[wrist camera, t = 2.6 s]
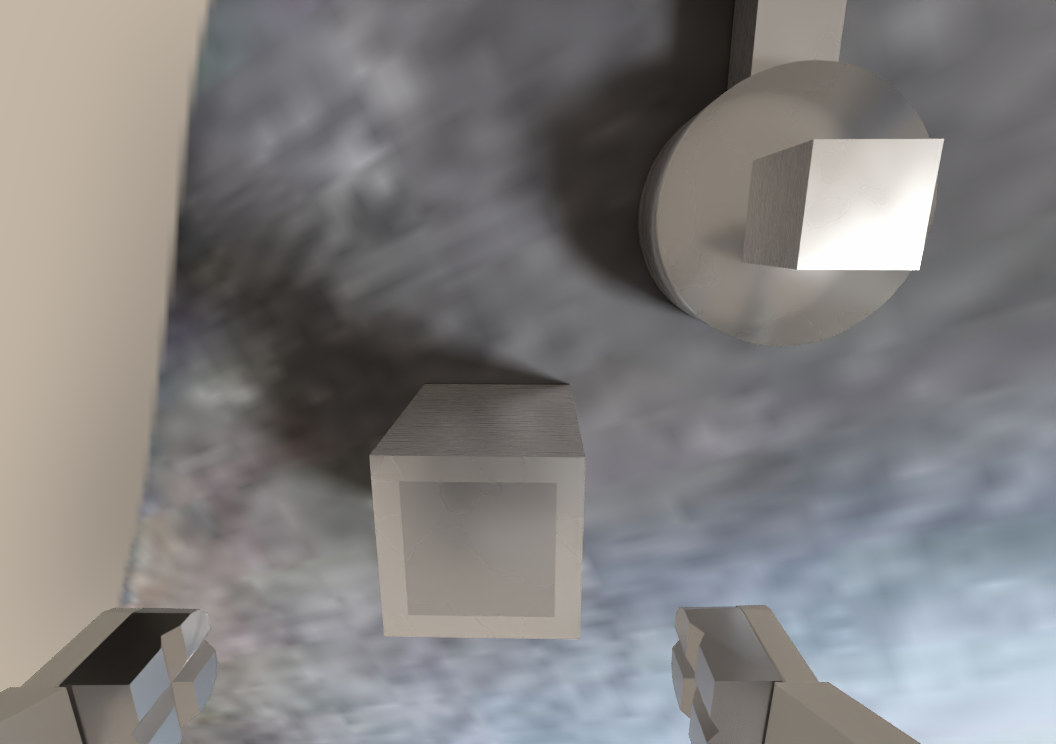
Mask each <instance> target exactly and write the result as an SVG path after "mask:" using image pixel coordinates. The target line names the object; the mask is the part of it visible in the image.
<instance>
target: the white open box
mask: <svg viewBox="0 0 1056 744" xmlns="http://www.w3.org/2000/svg"><path fill="white" fill-rule="evenodd" d="M369 459H370V471H371V483H372V495H373V507H374V519H375V531H376V543H377V555H378V567H379V578H380V590H381V602H382V614H383V626H384V636H406V637H468V638H531V639H580V615H581V583H582V550H583V518H584V486H585V453H584V448H583V444H582V439H581V434H580V429H579V424H578V420H577V415H576V410H575V405H574V400H573V396H572V391H571V386H570V385H528V384H424V385H423V386H422V388H421V389H420V390H419V392H418V393H417V394H416V396H415V397H414V398H413V399H412V401H411V402H410V403H409V405H408V406H407V407H406V408H405V410H404V411H403V412H402V414H401V415H400V416H399V418H398V419H397V420H396V421H395V423H394V424H393V425H392V427H391V428H390V429H389V431H388V432H387V433H386V434H385V436H384V437H383V438H382V440H381V441H380V442H379V443H378V445H377V446H376V447H375V449H374V450H373V451H372V453H371V454H370V455H369Z"/></svg>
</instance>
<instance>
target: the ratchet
mask: <svg viewBox="0 0 1056 744" xmlns="http://www.w3.org/2000/svg"><path fill="white" fill-rule="evenodd" d="M846 1H847V0H735V7H734V19H733V30H732V41H731V52H730V64H729V75H728V86H727V91H726V92H725V93H723V94H722V95H721V96H719V97H718V98H717V99H715V100H714V101H713V102H712V103H710V104H709V105H708V106H706V107H705V108H704V109H703V110H701V111H700V112H699V113H697V114H696V115H695V116H693V117H692V118H691V119H690V120H688V121H687V122H686V123H685V124H684V125H683V126H682V127H680V128H679V129H678V130H677V131H676V132H675V133H674V134H673V136H672V137H671V138H670V139H669V140H668V141H667V142H666V144H665V145H664V147H663V148H662V149H661V151H660V152H659V154H658V155H657V157H656V159H655V161H654V162H653V164H652V166H651V168H650V170H649V172H648V175H647V178H646V180H645V183H644V186H643V189H642V194H641V198H640V202H639V211H638V236H639V243H640V248H641V252H642V255H643V259H644V262H645V264H646V267H647V269H648V271H649V274H650V275H651V277H652V279H653V280H654V282H655V284H656V285H657V286H658V288H659V289H660V290H661V291H662V293H663V294H664V295H665V296H666V297H667V298H668V299H669V300H670V301H671V302H672V303H673V304H674V305H675V306H677V307H678V308H680V309H681V310H682V311H684V312H685V313H687V314H689V315H691V316H693V317H694V318H696V319H698V320H700V321H702V322H704V323H706V324H708V325H710V326H711V327H713V328H715V329H717V330H719V331H721V332H723V333H725V334H727V335H729V336H731V337H734V338H737V339H739V340H742V341H745V342H749V343H754V344H759V345H766V346H795V345H801V344H807V343H812V342H816V341H819V340H822V339H826V338H829V337H832V336H834V335H836V334H838V333H841V332H843V331H845V330H847V329H849V328H851V327H852V326H854V325H856V324H857V323H859V322H861V321H863V320H864V319H865V318H867V317H868V316H869V315H871V314H872V313H873V312H875V311H876V310H877V309H878V308H879V307H880V306H882V305H883V304H884V303H885V302H886V301H887V300H888V299H889V298H890V297H891V296H892V295H893V294H894V293H895V291H896V290H897V289H898V288H899V287H900V286H901V284H902V283H903V282H904V281H905V279H906V278H907V276H908V275H909V273H910V272H911V270H919V268H920V263H921V258H922V253H923V248H924V246H925V243H926V241H927V238H928V235H929V233H930V230H931V226H932V222H933V218H934V214H935V208H936V200H937V173H938V168H939V163H940V158H941V152H942V147H943V142H944V139H930V138H929V136H928V133H927V131H926V129H925V127H924V124H923V122H922V121H921V119H920V117H919V116H918V114H917V113H916V111H915V110H914V108H913V106H912V105H911V104H910V103H909V102H908V101H907V100H906V99H905V97H904V96H903V95H902V94H901V93H900V92H899V91H898V90H896V89H895V88H894V87H893V86H892V85H890V84H889V83H888V82H887V81H885V80H883V79H882V78H880V77H878V76H877V75H875V74H873V73H871V72H869V71H867V70H864V69H862V68H859V67H856V66H854V65H850V64H845V63H841V62H838V60H839V53H840V45H841V38H842V31H843V23H844V16H845V9H846Z"/></svg>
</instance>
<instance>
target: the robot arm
mask: <svg viewBox="0 0 1056 744" xmlns="http://www.w3.org/2000/svg"><path fill="white" fill-rule="evenodd" d="M675 629H676V632H677V634H678V637H679V641H678V642H677V643H676V644H675V646H674V647H673V648H672V663H671V665H672V678H673V685H674V690H675V694H676V698H677V701H678V704H679V707H680V710H681V711H682V712H683V713H684V714H686V715H687V716H688V717H689V718H690V727H689V738H690V741H691V744H920V743H919V742H917V741H916V740H914V739H913V738H911V737H910V736H908V735H907V734H905V733H904V732H902V731H901V730H899V729H898V728H896V727H895V726H893V725H892V724H890V723H889V722H887V721H886V720H884V719H883V718H881V717H880V716H878V715H877V714H875V713H874V712H872V711H871V710H869V709H868V708H866V707H865V706H863V705H862V704H860V703H859V702H857V701H856V700H854V699H853V698H851V697H850V696H848V695H847V694H845V693H844V692H842V691H841V690H839V689H838V688H836V687H835V686H833V685H832V684H830V683H829V682H819V681H818V680H817V678H816V677H815V675H814V674H813V672H812V671H811V669H810V668H809V666H808V665H807V663H806V662H805V660H804V659H803V657H802V656H801V654H800V653H799V651H798V650H797V648H796V647H795V645H794V644H793V642H792V641H791V639H790V638H789V636H788V635H787V633H786V632H785V630H784V629H783V627H782V626H781V624H780V623H779V621H778V620H777V618H776V617H775V615H774V614H773V612H772V611H771V609H770V608H768V607H767V606H765V605H748V606H736V607H679V608H678V610H677V613H676V618H675ZM210 630H211V625H210V621H209V617H208V613H207V612H205V611H203V610H201V609H171V608H142V609H139V608H113V609H110V610H107V611H104V612H103V613H101V614H100V615H99V616H98V617H97V618H96V619H95V620H93V621H92V622H91V623H90V624H89V625H88V626H87V627H86V628H85V629H84V630H82V631H81V632H80V633H79V634H78V635H77V636H76V637H75V638H74V639H73V640H71V641H70V642H69V643H68V644H67V645H66V646H65V647H64V648H63V649H62V650H61V651H59V652H58V653H57V654H56V655H55V656H54V657H53V658H52V659H51V660H50V661H48V662H47V663H46V664H45V665H44V666H43V667H42V668H41V669H40V670H39V671H38V672H36V673H35V674H34V675H33V676H32V677H31V678H30V679H29V680H28V681H27V682H25V684H23V685H22V686H21V687H16V688H15V687H14V688H13V687H12V688H11V687H10V688H8V689H6V690H4V691H2V692H0V744H179V743H180V742H181V740H182V732H181V726H182V725H183V724H185V723H186V722H188V721H189V720H190V719H192V718H193V717H195V716H196V715H197V714H199V713H200V711H201V710H202V708H203V707H204V705H205V703H206V702H207V700H208V699H209V697H210V694H211V692H212V689H213V686H214V683H215V680H216V676H217V657H216V651H215V649H214V648H213V647H212V646H211V645H210V644H209V643H207V642H206V641H205V640H204V639H205V637H206V636H207V634H208V633H209V631H210Z"/></svg>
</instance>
